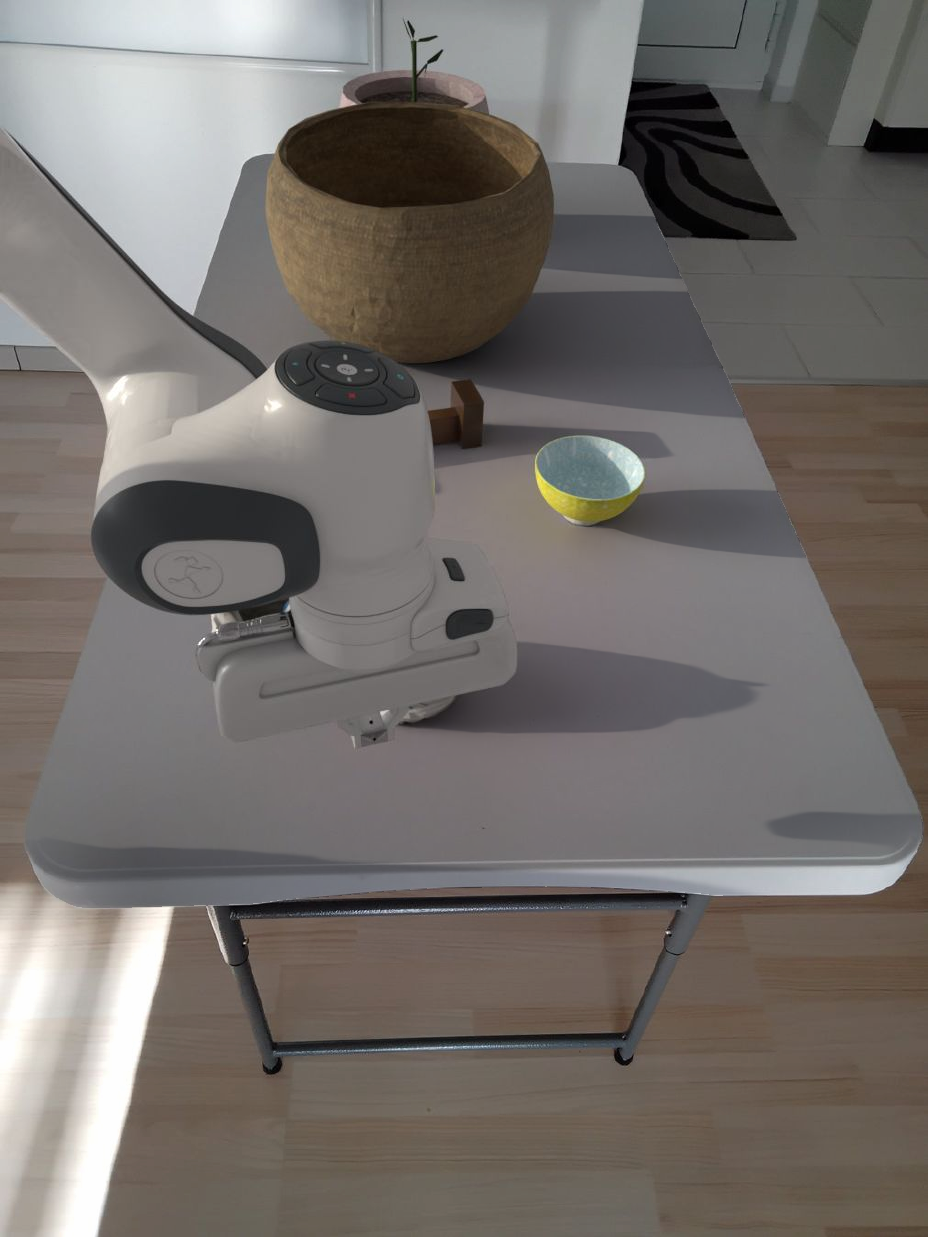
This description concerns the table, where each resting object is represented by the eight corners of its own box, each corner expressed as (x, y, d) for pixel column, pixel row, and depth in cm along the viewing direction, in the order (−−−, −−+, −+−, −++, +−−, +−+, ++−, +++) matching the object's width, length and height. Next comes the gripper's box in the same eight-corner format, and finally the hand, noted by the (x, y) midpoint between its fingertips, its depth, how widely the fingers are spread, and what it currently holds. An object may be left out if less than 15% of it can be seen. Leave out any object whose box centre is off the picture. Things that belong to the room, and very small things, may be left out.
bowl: (609, 473, 104) (617, 427, 100) (653, 537, 97) (664, 489, 92) (515, 489, 102) (519, 442, 97) (553, 555, 94) (559, 508, 90)
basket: (530, 280, 139) (557, 102, 120) (534, 423, 116) (569, 231, 97) (295, 256, 137) (286, 72, 119) (252, 396, 114) (232, 196, 95)
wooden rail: (216, 485, 100) (207, 439, 96) (211, 459, 104) (202, 413, 99) (481, 446, 107) (484, 401, 103) (468, 423, 111) (470, 378, 106)
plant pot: (484, 270, 140) (495, 44, 119) (328, 260, 141) (311, 34, 119) (492, 208, 157) (504, 1, 136) (353, 199, 158) (342, -8, 136)
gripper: (194, 671, 52) (231, 807, 62) (534, 603, 57) (518, 740, 66) (184, 596, 56) (220, 735, 66) (501, 539, 61) (491, 677, 71)
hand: (372, 737), depth 66 cm, fingers closed
